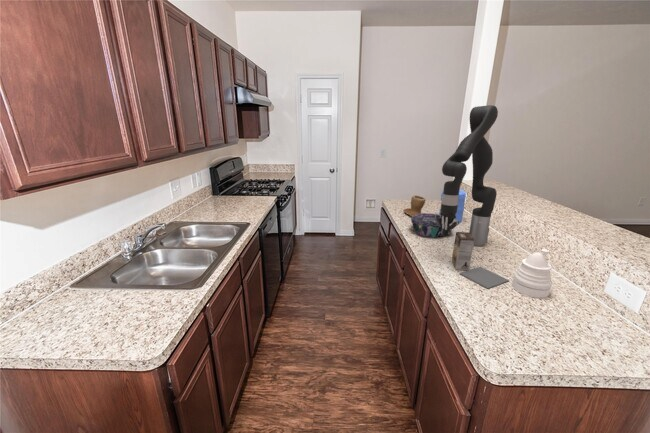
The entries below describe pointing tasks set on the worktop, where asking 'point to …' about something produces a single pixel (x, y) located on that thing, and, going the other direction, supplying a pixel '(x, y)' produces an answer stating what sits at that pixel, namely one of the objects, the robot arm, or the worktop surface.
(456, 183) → the robot arm
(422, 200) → the brown boot
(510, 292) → the worktop surface
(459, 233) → the coffee box
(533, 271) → the honey pot
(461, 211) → the water jug
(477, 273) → the rubber mat
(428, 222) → the decorative bowl
